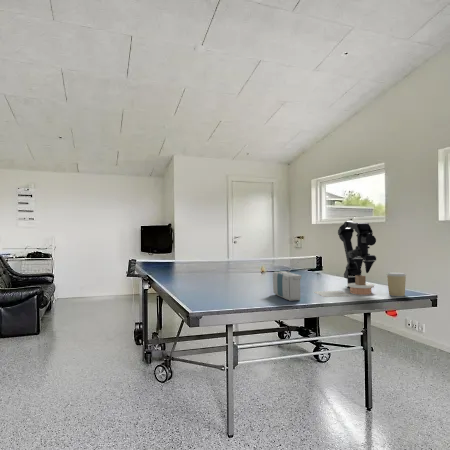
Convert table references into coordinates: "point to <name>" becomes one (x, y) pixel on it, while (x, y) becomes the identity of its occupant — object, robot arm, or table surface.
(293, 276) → the white blue box
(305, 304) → the table surface
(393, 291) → the coffee cup
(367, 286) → the lid
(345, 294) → the mat
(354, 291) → the bowl
